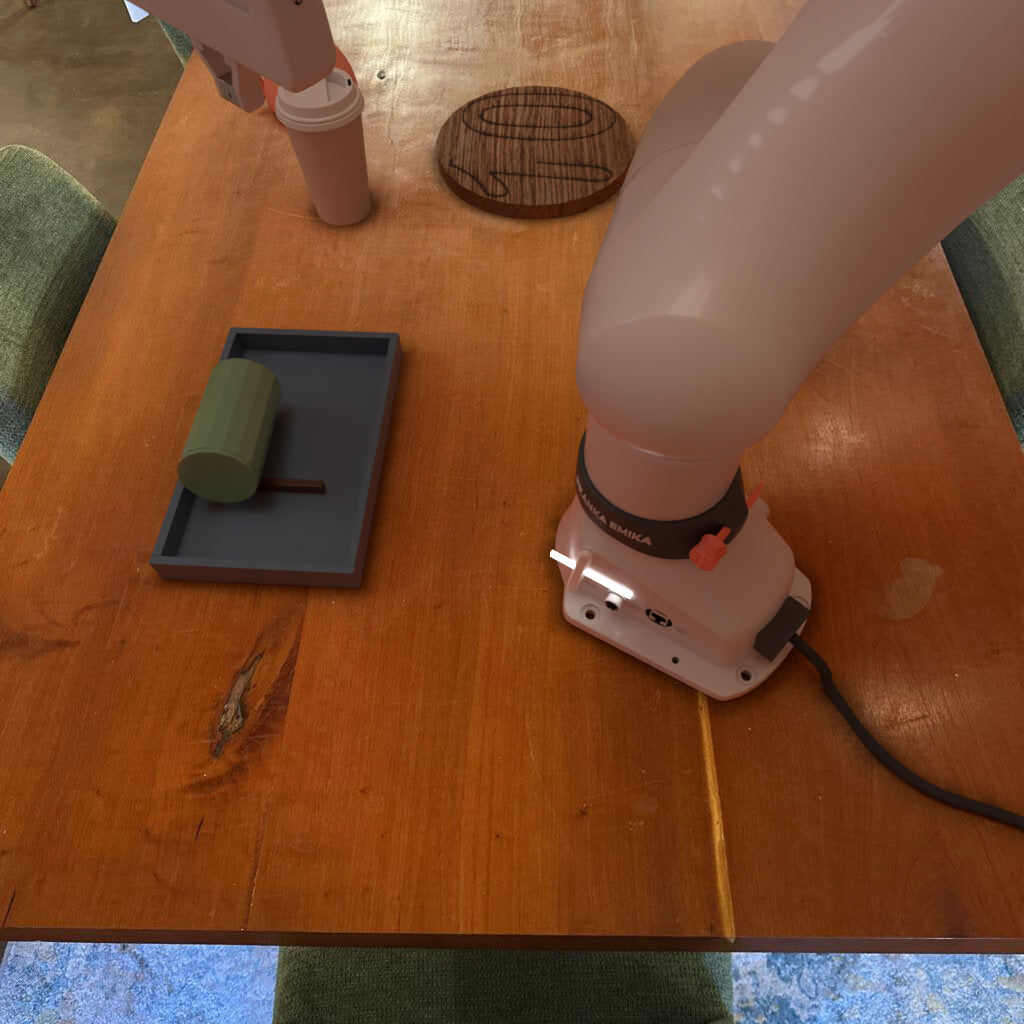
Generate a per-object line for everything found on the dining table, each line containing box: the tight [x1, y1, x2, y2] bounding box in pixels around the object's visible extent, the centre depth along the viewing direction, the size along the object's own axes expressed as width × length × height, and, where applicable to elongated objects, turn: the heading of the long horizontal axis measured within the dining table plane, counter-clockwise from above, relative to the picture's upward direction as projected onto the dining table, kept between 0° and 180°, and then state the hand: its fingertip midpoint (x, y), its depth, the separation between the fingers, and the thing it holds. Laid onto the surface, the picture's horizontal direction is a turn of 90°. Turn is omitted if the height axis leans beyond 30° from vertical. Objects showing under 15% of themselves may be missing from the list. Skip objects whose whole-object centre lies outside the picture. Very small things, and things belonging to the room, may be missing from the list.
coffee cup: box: [274, 67, 372, 227], centre depth 87 cm, size 10×10×15 cm
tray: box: [148, 326, 404, 590], centre depth 73 cm, size 28×18×3 cm, turn 176°
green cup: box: [176, 358, 282, 503], centre depth 70 cm, size 7×7×12 cm
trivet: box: [435, 85, 635, 220], centre depth 97 cm, size 25×25×2 cm
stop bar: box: [256, 478, 326, 494], centre depth 71 cm, size 1×8×1 cm, turn 86°
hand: (243, 102), depth 54 cm, fingers closed
